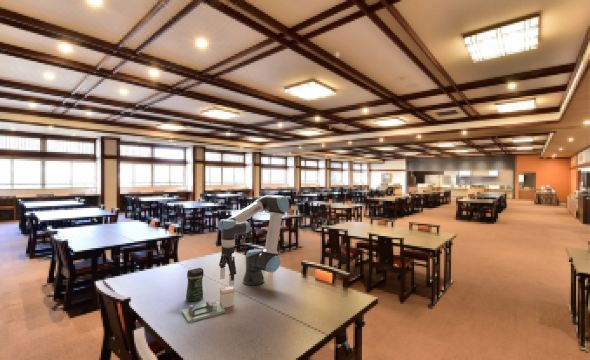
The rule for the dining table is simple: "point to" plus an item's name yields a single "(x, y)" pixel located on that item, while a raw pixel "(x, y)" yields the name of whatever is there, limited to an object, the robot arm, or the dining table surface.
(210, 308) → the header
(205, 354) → the dining table surface
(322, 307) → the dining table surface
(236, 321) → the dining table surface
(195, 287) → the coffee jar
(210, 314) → the board
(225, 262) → the robot arm
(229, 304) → the plug
